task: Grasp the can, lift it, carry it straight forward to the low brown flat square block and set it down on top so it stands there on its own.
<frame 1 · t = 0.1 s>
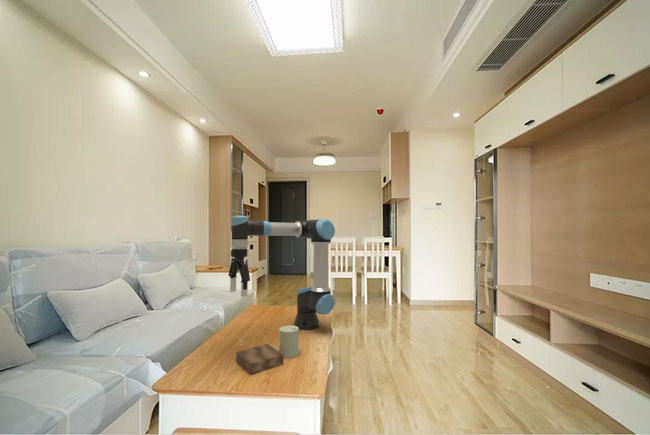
hand: (238, 293, 131), 28 cm above the table, fingers open, 13 cm apart
can: (288, 353, 131), on the table
brown flat square block: (259, 362, 122), on the table
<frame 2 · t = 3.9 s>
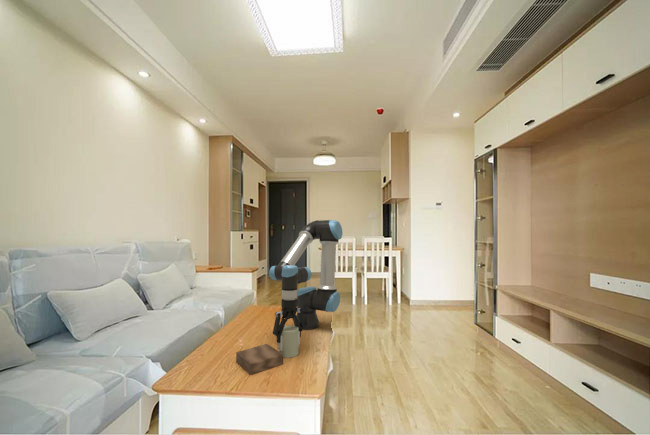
hand: (288, 346, 131), 3 cm above the table, fingers closed on can, 9 cm apart
can: (288, 353, 131), on the table, touching gripper
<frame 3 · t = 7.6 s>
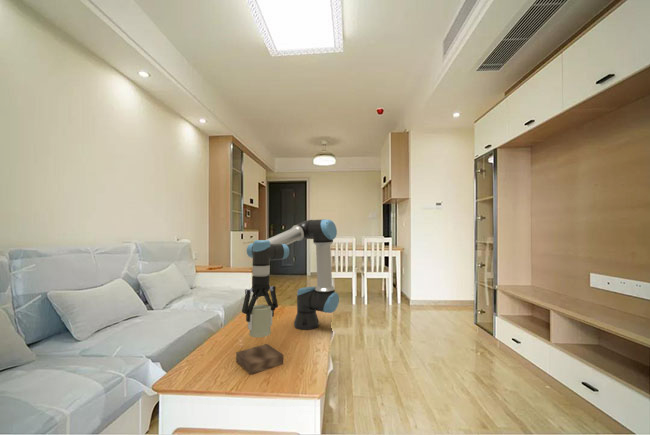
hand: (260, 326, 123), 15 cm above the table, fingers closed on can, 9 cm apart
can: (260, 334, 123), point 12 cm above the table, touching gripper
when the fingers open (8 cm above the table, at t = 11.2 s): can stays where it is, resting on brown flat square block.
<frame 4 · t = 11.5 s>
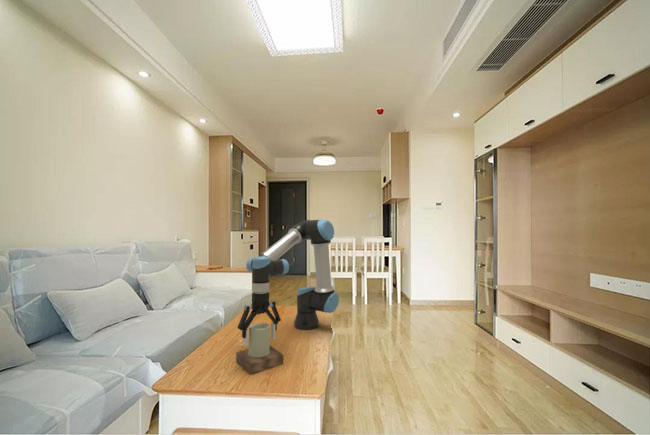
hand: (259, 341, 122), 9 cm above the table, fingers open, 12 cm apart
can: (259, 353, 122), point 4 cm above the table, touching brown flat square block
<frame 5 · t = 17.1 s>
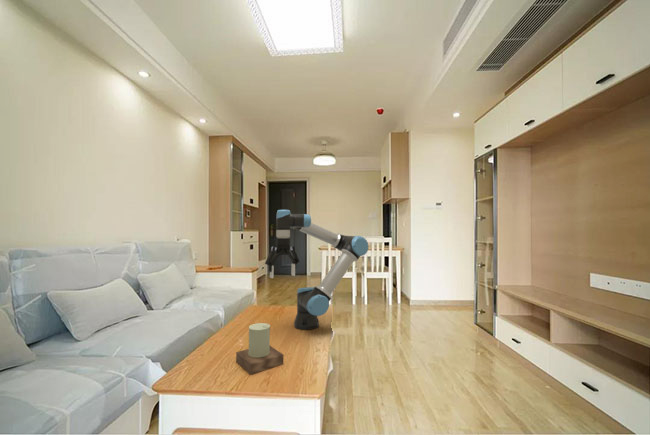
hand: (282, 276, 153), 33 cm above the table, fingers open, 13 cm apart
nothing on the table moved.
at the end: can inside the target area on the brown flat square block (0.3 cm from its centre), point 3.9 cm above the brown flat square block's base; can tilted 0°; the gripper is holding nothing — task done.
